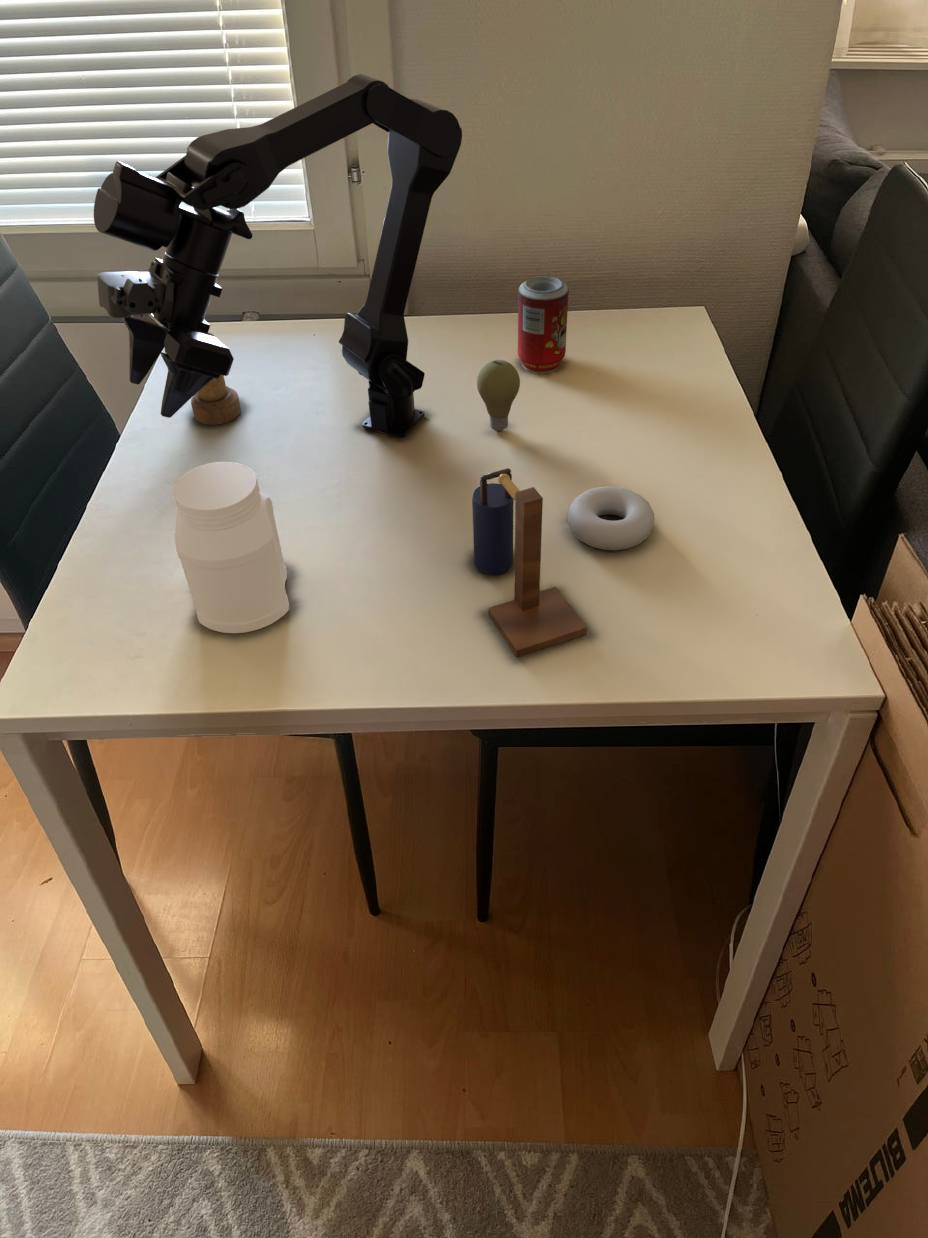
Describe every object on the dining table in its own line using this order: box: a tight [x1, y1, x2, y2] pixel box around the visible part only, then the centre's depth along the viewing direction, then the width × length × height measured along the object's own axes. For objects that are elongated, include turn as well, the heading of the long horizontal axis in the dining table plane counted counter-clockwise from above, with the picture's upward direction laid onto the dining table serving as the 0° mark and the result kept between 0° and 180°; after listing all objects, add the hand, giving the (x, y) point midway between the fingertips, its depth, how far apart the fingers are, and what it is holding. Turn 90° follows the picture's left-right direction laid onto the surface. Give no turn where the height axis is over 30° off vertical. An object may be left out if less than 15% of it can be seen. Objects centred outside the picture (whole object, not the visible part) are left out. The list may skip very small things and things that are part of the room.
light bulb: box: [476, 359, 521, 433], centre depth 121 cm, size 6×6×10 cm
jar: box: [172, 461, 290, 634], centre depth 96 cm, size 12×10×15 cm
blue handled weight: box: [471, 467, 515, 576], centre depth 100 cm, size 4×4×13 cm
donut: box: [567, 485, 655, 551], centre depth 107 cm, size 10×4×10 cm
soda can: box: [517, 275, 570, 374], centre depth 133 cm, size 7×7×12 cm
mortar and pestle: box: [190, 331, 242, 426], centre depth 123 cm, size 7×6×18 cm
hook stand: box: [488, 474, 588, 658], centre depth 93 cm, size 12×8×15 cm, turn 23°
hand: (149, 399), depth 103 cm, fingers open, 9 cm apart
